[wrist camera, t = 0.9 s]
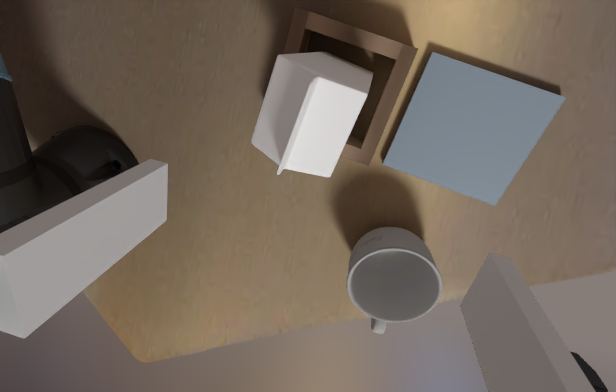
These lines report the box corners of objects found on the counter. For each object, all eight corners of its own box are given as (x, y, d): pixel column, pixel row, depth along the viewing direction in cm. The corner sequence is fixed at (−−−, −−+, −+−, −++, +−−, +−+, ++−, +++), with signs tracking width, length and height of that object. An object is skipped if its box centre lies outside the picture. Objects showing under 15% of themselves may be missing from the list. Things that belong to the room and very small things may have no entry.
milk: (374, 72, 36) (370, 101, 17) (351, 122, 39) (324, 198, 19) (323, 50, 36) (260, 53, 17) (304, 102, 39) (230, 156, 19)
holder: (274, 120, 41) (264, 127, 37) (303, 10, 35) (294, 6, 32) (369, 155, 40) (368, 165, 37) (414, 48, 35) (418, 48, 31)
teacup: (370, 204, 43) (368, 235, 36) (448, 235, 43) (462, 273, 35) (332, 281, 49) (324, 320, 42) (400, 308, 49) (404, 353, 42)
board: (382, 162, 40) (382, 164, 39) (431, 51, 34) (432, 51, 34) (492, 202, 40) (495, 205, 39) (561, 96, 34) (566, 97, 33)
